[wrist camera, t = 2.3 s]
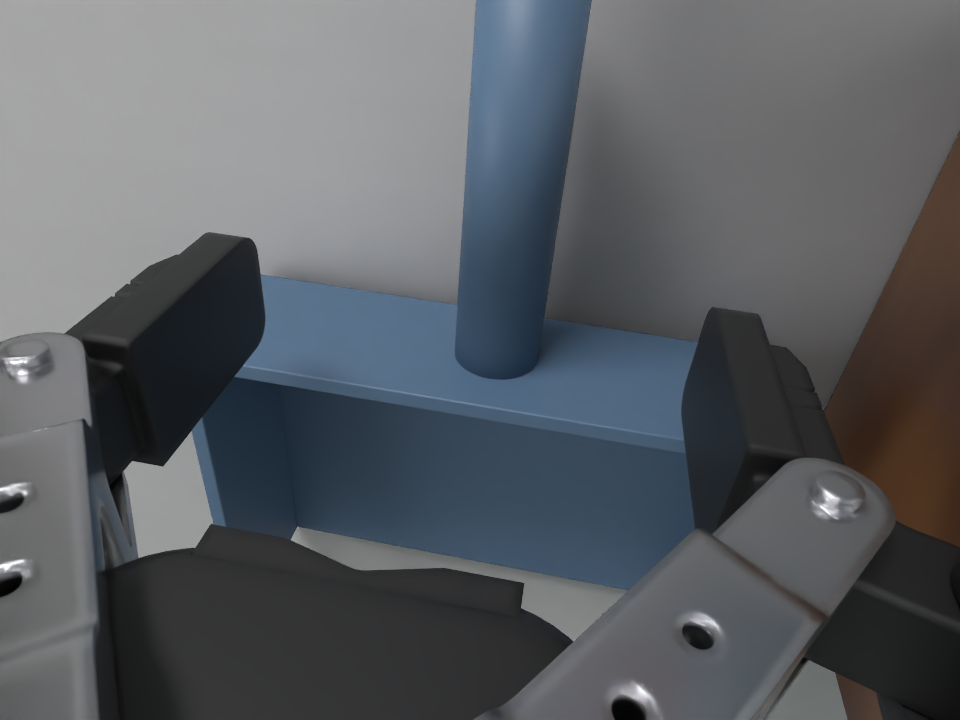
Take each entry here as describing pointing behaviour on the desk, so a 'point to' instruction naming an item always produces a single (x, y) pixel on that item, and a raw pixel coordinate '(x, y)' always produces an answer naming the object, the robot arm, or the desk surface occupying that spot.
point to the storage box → (909, 388)
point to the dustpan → (468, 372)
